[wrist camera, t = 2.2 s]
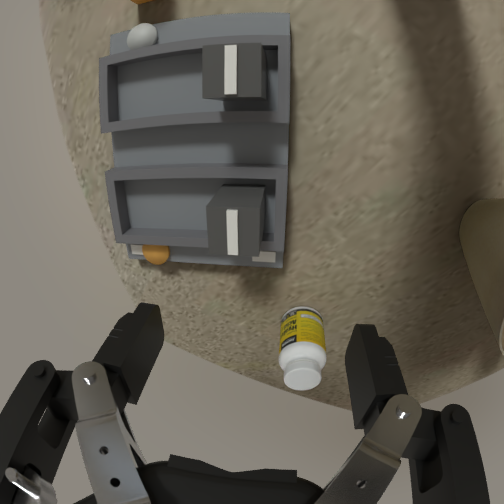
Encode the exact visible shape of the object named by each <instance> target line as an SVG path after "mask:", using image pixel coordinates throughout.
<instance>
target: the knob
mask: <svg viewBox="0 0 504 504" xmlns="http://www.w3.org/2000/svg"><path fill="white" fill-rule="evenodd" d="M202 98H203V99H212V100H220V101H236V100H266V101H267V57H266V54H265V52H264V49H263V46H262V43H230V44H215V45H204V46H203V48H202Z"/></svg>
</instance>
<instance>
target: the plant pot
mask: <svg viewBox="0 0 504 504" xmlns="http://www.w3.org/2000/svg"><path fill="white" fill-rule="evenodd" d="M459 238H460V242H461V246H462V250H463V253H464V257H465V260H466V263H467V266H468V269H469V272H470V275H471V278H472V281H473V283H474V286H475V289H476V292H477V294H478V297H479V300H480V302H481V305H482V307H483V310H484V312H485V314H486V317H487V319H488V322H489V324H490V326H491V329H492V331H493V334H494V336H495V339H496V341H497V343H498V346H499V348H500V351H501V353H502V355H503V356H504V199H482V200H479V201H477V202H475V203H473V204H472V205H471V206H470V207H469V208H468V209H467V211H466V212H465V214H464V216H463V218H462V221H461V224H460V229H459Z"/></svg>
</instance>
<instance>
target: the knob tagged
mask: <svg viewBox="0 0 504 504" xmlns="http://www.w3.org/2000/svg"><path fill="white" fill-rule="evenodd" d="M265 188H266V185H254V184H223V185H222V186H221V188H220V189H219V190H218V191H217V193H216V194H215V195H214V197H213V198H212V199H211V200H210V202H209V203H208V204H207V206H206V218H207V234H208V249H209V254H216V255H234V256H252V257H259V254H260V248H261V242H262V237H263V231H264V225H265Z"/></svg>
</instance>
